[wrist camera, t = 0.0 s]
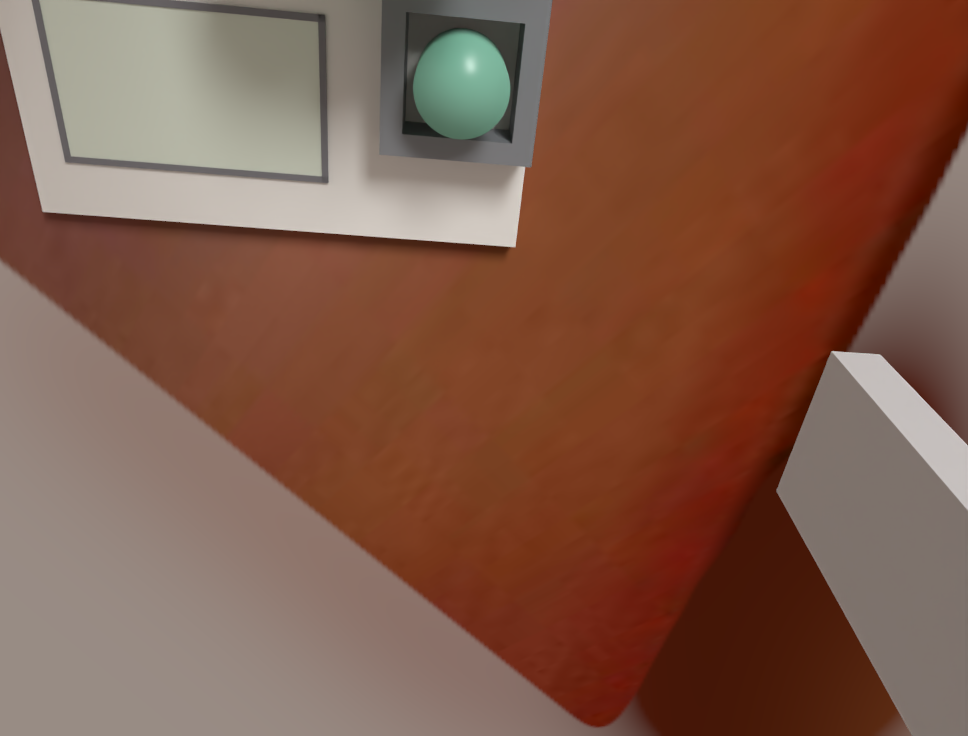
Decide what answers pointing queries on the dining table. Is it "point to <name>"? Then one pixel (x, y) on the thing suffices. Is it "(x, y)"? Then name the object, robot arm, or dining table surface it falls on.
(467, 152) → the board
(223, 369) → the dining table surface
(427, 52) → the button
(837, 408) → the robot arm
